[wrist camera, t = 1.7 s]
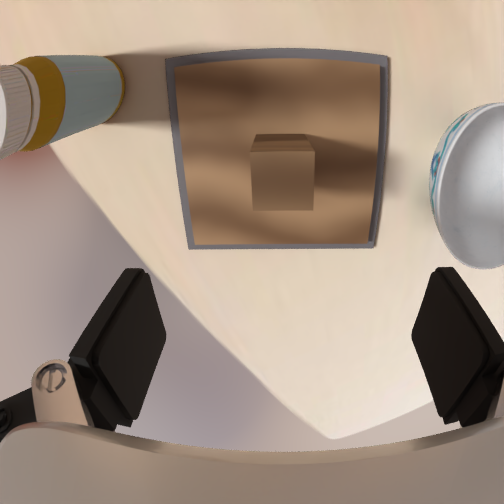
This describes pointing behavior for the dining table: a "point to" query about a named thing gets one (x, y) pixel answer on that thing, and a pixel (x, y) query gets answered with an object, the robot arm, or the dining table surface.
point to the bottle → (55, 98)
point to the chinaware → (471, 187)
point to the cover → (279, 149)
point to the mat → (271, 54)
